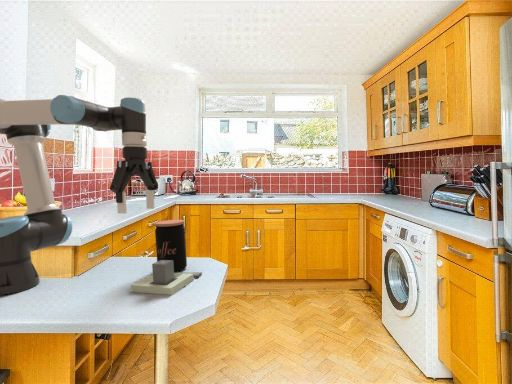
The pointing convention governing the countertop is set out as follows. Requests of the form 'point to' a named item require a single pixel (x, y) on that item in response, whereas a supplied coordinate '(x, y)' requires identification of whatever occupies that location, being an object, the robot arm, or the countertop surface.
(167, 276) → the block
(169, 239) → the coffee jar
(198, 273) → the phone
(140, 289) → the outlet plate
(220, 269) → the countertop surface
